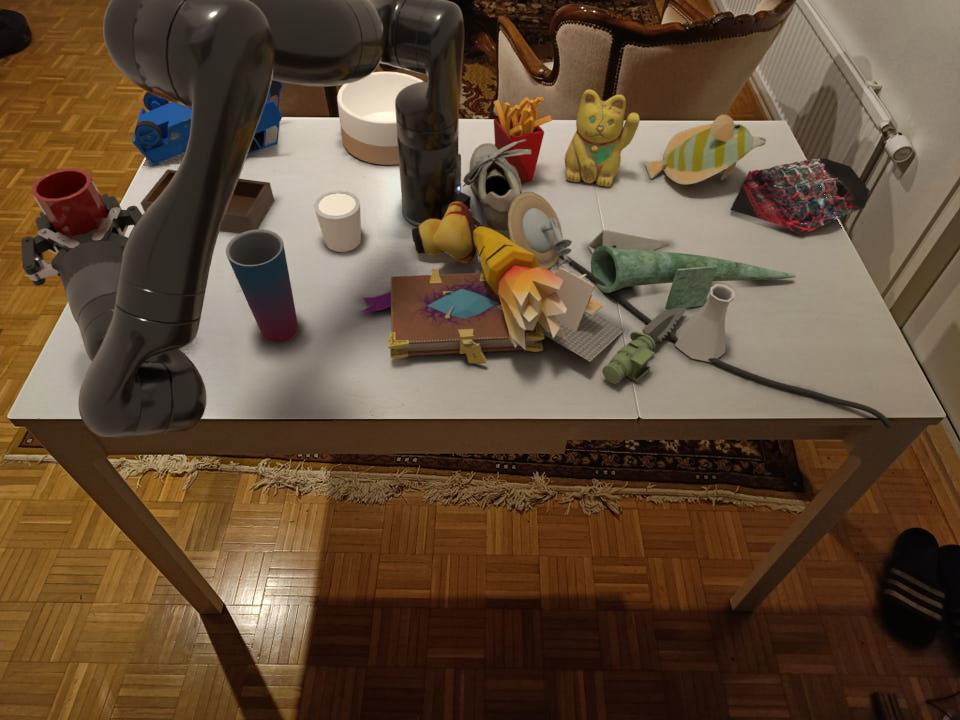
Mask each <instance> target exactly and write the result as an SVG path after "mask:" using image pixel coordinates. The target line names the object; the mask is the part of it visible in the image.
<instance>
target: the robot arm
mask: <svg viewBox="0 0 960 720" xmlns="http://www.w3.org/2000/svg"><path fill="white" fill-rule="evenodd" d="M102 24H103V26H102V27H103V28H102V34H103V40H104V44H105V47H106V49H107V52H108V54H109V56H110V59H111V60H112V61H113V63H114V64H115V66H116V68H117V69H118V70H119V71H120V73H122V74H123V75H124V76H125V77H126V78H127V79H128V80H129V81H130V82H132V83H133V84H134V85H136V86H137V87H139V88H140V89H142V90H144V91H145V92H149V93H151V94H153V95H154V96H157V97H159V98H162V99H165V100H167V101H169V103H170V102H173V103H175V104H178V105H181V106H183V107H186V108H189V109H191V110H192V117H191V127H190V135H189V140H188V145H187V148H186V152H185V153H184V155H183V158H182V160H181V162H180V164H179V166H178V167H177V170H176V171H177V172H176V173H175V175H174V176H173V178H172V179H171V181H170V183H169V184H168V185H167V186H166V188H165V189H164V190H163V192H162V193H161V194H160V195H159V197H158V198H157V199H156V200H155V201H154V202H153V203H152V204H151V206H150V207H149V208H148V209H147V210H146V211H145V212H143V213H142V212H141V210H140V209H139V208H138V206H136V205H130V206H128V207H127V208H126V209H122V207H121V205H120V203H119V201H118V199H117V197H116V196H114V195H112V196H109V194H108V193H104V194H100V195H101V197H102V199H103V201H104V203H105V206H106V208H107V210H108V212H109V214H108V216H107V218H103V219H102V221H101V223H100V225H99V228H98V229H95V230H92V231H90V232H88V233H86V234H81V235H76V236H72V237H70V238H69V237H67V236H65V235H63V234H61V233H59V232H57V233H55V231H54V229H53V228H52V226H51V224H50V223H49V221H48V220H47V218H46V216H45V215H44V213H43V211H41V212H39V216H38V217H36V219H35V223H36V228H37V235H36V236H34V237H33V236H25V237H23V238H22V239H21V241H20V244H21V259H22V260H21V261H22V269H23V271H24V272H25V274H26V275H27V277H28V278H29V280H30V281H31V282H32V284H33V285H34V286H36V287H38V286H43V285H44V284H45V283H46V278H50V277H53V276H57V277H59V278H60V279H61V283H62V287H63V290H64V294H65V296H66V300H67V303H68V307H69V309H70V312H71V315H72V317H73V319H74V321H75V322H76V324H77V326H78V329H79V332H80V336H81V338H82V342H83V345H84V349H85V351H86V355H87V356H88V358H89V360H90V362H91V363H90V365H89V367H88V369H87V371H86V373H85V375H84V378H83V380H82V383H81V386H80V389H79V393H78V400H77V401H78V413H79V416H80V418H81V422H82V423H83V425H85V427H86V429H88V430H89V431H90V432H91V434H94V435H95V436H98V437H100V438H106V439H115V438H116V439H118V438H129V437H141V436H143V437H144V436H153V435H168V434H169V435H170V434H179V433H184V432H186V431H189V430H191V429H192V428H194V427H195V426H197V424H198V423H199V422H200V421H201V419H202V418H203V416H204V414H205V411H206V407H207V390H206V385H205V382H204V379H203V377H202V375H201V373H200V371H199V369H198V368H197V366H196V365H195V363H193V361H192V360H191V359H190V358H189V357H188V356H187V355H186V353H185V352H184V351H183V350H182V349H183V348H185V347H187V346H189V345H190V344H192V343H193V342H194V341H195V339H196V338H197V335H198V332H199V329H200V324H201V318H202V312H203V309H204V308H203V307H204V301H205V297H206V291H207V286H208V280H209V276H210V275H209V274H210V269H211V268H210V267H211V265H212V260H213V255H214V251H215V248H216V244H217V240H218V236H219V234H220V231H221V230H220V228H221V225H222V222H223V219H224V216H225V214H226V211H227V208H228V205H229V203H230V200H231V198H232V195H233V193H234V190H235V187H236V185H237V182H238V180H239V179H240V177H241V174H242V172H243V168H244V167H245V164H246V160H247V158H248V156H247V155H248V152H249V149H250V146H251V143H252V141H253V138H254V135H255V132H256V129H257V127H258V124H259V121H260V118H261V115H262V113H263V110H264V107H265V104H266V100H267V97H268V94H269V90H270V86H271V82H272V80H274V81H279V82H282V83H286V84H293V85H299V86H304V87H306V86H307V87H314V88H315V87H317V88H319V87H336V86H343V85H344V84H348V83H353V82H357V81H359V80H362V79H364V78H366V77H367V76H369V75H370V74H371V73H374V72H375V70H376V69H377V68H378V67H379V64H382V65H388V66H391V67H393V68H398V69H403V70H405V71H409V72H414V73H418V74H422V75H425V76H427V80H425V81H423V82H419V83H415V84H412V85H409V86H407V87H405V88H404V89H402V90H401V91H400V92H399V93H398V95H397V97H396V100H395V114H396V127H397V141H398V155H399V164H398V166H399V167H398V169H399V179H400V181H399V182H400V192H401V213H402V216H403V218H404V219H405V221H407V222H408V223H409V224H412V225H414V226H416V227H418V226H419V225H420V224H422V223H423V222H424V221H426V220H428V219H438V220H442V219H443V217H444V215H445V213H446V212H447V209H448V206H449V205H450V204H451V203H452V202H456V201H459V202H462V203H464V204H465V205H466V206H467V207H468V208H469V210H470V209H471V195H469V194H467V193H464V192H462V154H460V153H459V132H460V131H459V125H460V124H459V123H460V122H459V121H460V120H459V119H460V118H459V116H460V103H461V97H462V96H461V95H462V86H463V85H462V84H463V83H462V82H463V64H464V63H463V60H464V48H465V21H464V16H463V12H462V9H461V8H460V6H459V5H458V4H457V3H455V2H453V1H449V0H110V1H109V3H108V5H107V7H106V9H105V13H104V16H103V23H102ZM473 219H474V222H475V227H476V228H477V227H479V226H483V225H482V223H481V222H480V221H479V220H478V219H477V218H475V217H474V216H473ZM129 226H133V227H132V229H131V231H130V233H129V235H128V237H127V236H125V235H126V233H127V231H128V228H129ZM47 251H48V252H50V253H52V254H54V255H55V256H54V257H53V259H51V263H47V262H46V260H45V258H44V257H45V256H44V253H45V252H47ZM559 251H560V250H558V252H559ZM567 257H568V258H570V259H572V258H571V257H570V256H569V255H567ZM560 258H562V259H563V260H564V257H563V256H560ZM568 264H569V265H571V266H572V267H574V268H575V269H577V270H578V271H579V272H580V273H582V274H583V275H584V274H587V275H586V276H585V277H588V278H589V279H590V280H591V281H592V282H594V284H595V283H597V284H600V285H602V286H606V285H605V284H604V283H603V282H602V281H601V280H599V279H598V278H596V277H595V276H594V275H593V274H592V272H591V271H589V270H588V269H586V268H585V267H584V266H582V265H580V264H579V263H578V262H577V261H576V260H574V259H572V261H571V262H569V263H568ZM608 294H609V295H610V296H611V297H613V298H614V299H615V300H616V301H618V302H619V303H620V304H621V305H622V306H624V307H625V308H627V309H628V310H629V311H631V312H632V313H633V314H634V315H635V316H637V317H638V318H639V319H641V320H642V321H643V322H645V323H646V324H647V325H648V324H649V323H650V322H651V321H652V320H653V319H651V318H650V317H648V316H647V315H645V314H644V313H643V312H641V311H640V310H639V309H638V308H636V307H635V306H634V305H632V304H631V303H630V302H628V301H627V300H626V299H625V298H624V297H622V296H621V295H620V294H618V293H617V291H613V292H610V293H608ZM667 334H668V335H667V336H665V338H666V337H667V338H668V339H669V340H671V341H672V342H674V343H675V342H677V341H678V337H676V335H674V334H673V333H672V332H670V333H667ZM708 360H709V361H710V362H709V363H712V364H714V365H716V366H718V367H721V368H723V369H725V370H727V371H729V372H732V373H735V374H737V375H740V376H742V377H745V378H747V379H751V380H754V381H756V382H758V383H760V384H761V383H762V384H764V385H768V386H772V387H773V388H778V389H782V390H785V391H790V392H793V393H797V394H800V395H805V396H809V397H812V398H814V399H815V398H816V399H818V400H822V401H825V402H828V403H832V404H836V405H839V406H844V407H849V408H852V409H856V410H860V411H863V412H866V413H868V414H870V415H872V416H874V417H876V418H877V419H878V420H880V422H882V423H883V426H884V427H886V428H887V429H892V428H893V425H892V423H891V421H890V420H889V419H888V418H887V417H886V416H885V415H884V414H883V413H882V412H880V411H879V410H877V409H875V408H873V407H871V406H868V405H866V404H863V403H858V402H854V401H851V400H846V399H842V398H838V397H835V396H831V395H827V394H824V393H821V392H819V391H818V392H817V391H815V390H810V389H807V388H803V387H799V386H795V385H791V384H787V383H783V382H779V381H776V380H773V379H770V378H767V377H763V376H760V375H758V374H755V373H752V372H749V371H746V370H744V369H741V368H739V367H736V366H734V365H731V364H729V363H727V362H725V361H723V360H720V359H719V358H718V359H716V358H709V359H708Z"/></svg>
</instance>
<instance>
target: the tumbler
mask: <svg viewBox="0 0 960 720" xmlns="http://www.w3.org/2000/svg"><path fill="white" fill-rule="evenodd" d="M31 195H32V197H33V198H34V200H35V202H36V203H37V205H38V207H39V208H40V210H41V212H43V213H44V215H45V216H46V218H47V220H48V221H49V223H50V224H51V226H52V228H53V229H54V231H55V233H57V232H59V233H61V234H63V235H65V236H67V237H69V238H70V237H72V236H76V235H81V234H86V233H88V232H90V231H92V230H95V229H98V228H99V225H100V223H101V221H102V219H103V218H107V216H108V214H109V212H108V210H107V208H106V206H105V203H104V201H103V198H102V196H101V195H102V194H101V193H100V191H99V189H98V187H97V185H96V183H95V181H94V180H93V178H92V176H91V174H89V173H88V171H86V170H84V169H80V168H63V169H58V170H54V171H51V172H49V173H47V174H45V175H42V176H41V177H40V178H38V179H37V180H36V181H35V182H34V183H33V185H32V186H31Z"/></svg>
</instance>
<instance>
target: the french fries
mask: <svg viewBox="0 0 960 720" xmlns="http://www.w3.org/2000/svg"><path fill="white" fill-rule="evenodd" d="M544 100H545V99H544V97H543V96H541V97H540V96H537V97H535V99H530V98H529V97H527V96H525V98H523V99H522V101H520V103H519V104H518V103H516V104H515V105H514V106H512V107H511V104H510V103H509V102H508V101H507V102H505V101H504V102H503V103H504V104H503V106H501V103H500V101H499V99H497V100H494V101H493V105H494V109H495V111H496V114H497V116H498V117H497V118H493V131H494V132H493V133H494V135H493V136H494V145H495V146H496V147H497V149H498V150H499V149H501V148H503V147H505V146H507V145H509V144H511V143H513V142H517V141H521V140H525V139H526V141H524V142H521V143H518V144H516V145H514V146H513V147H511V148H509V149H507V150H505V151H504V152H507V151H511V150H516V149H528V150H531V154H523V155H516V156H510V157H504V158H505V159H506V160H507V162H508V163H509V164H511V165H513V166H514V167H515V168H516V170H517V172H518V175H519V178H520V181H521V184H524V183H525V184H526V183H528V182H533V181H534V176H535V172H536V169H537V164H538V160H539V156H540V152H541V148H542V144H543V140H544V135H545V130H544V129H542V127H541V126H542V125H544V124H548V123H550V122H552V121H553V117H552V115H551V114H549V115H547V116H544V117H542V118H539V108H538V105H539V104H541V103H542V102H544ZM528 105H529V107H528ZM504 152H502V153H504Z"/></svg>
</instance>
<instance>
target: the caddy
mask: <svg viewBox="0 0 960 720" xmlns="http://www.w3.org/2000/svg"><path fill="white" fill-rule="evenodd" d="M176 172H177V170H175V169H166V170H165V172H164V173H163V174H162V175H161V177H160V178H159V179H158V181H156V183H155V184H154V185H153V186H152V188H151V189H150V190H149V192H147V194H146V195H145V196H144V198H143V199H142V200H141V202H140V206H141V208H142V210H143V213H145V211H146V210H147V209H148V208H149V207H150V206H151V204H152V203H153V202H154V201H155V200H156V199H157V198H158V197H159V195H160V194H161V193H162V192H163V190H164V189H165V188H166V186H167V185H168V184H169V183H170V181H171V179H172V178H173V176H174V175H175V173H176ZM272 189H273V188H272V185H271V182H269V181H260V180H253V179H247V178H246V179H245V178H239V180H238V182H237V185H236V187H235V190H234V193H233V195H232V198H231V200H230V203H229V205H228V208H227V211H226V214H225V216H224V219H223V222H222V225H221V228H220V231H223V232H230V233H235V234H236V233H238V234H241V233H243V232H246V231H249V230H256V229H259V227H260V225H261V223H262V221H264V218H265V217H266V215H267V213H268V211H270V208H271V207H272V206H273V203H274V201H275V197H274V193H273V190H272Z"/></svg>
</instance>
